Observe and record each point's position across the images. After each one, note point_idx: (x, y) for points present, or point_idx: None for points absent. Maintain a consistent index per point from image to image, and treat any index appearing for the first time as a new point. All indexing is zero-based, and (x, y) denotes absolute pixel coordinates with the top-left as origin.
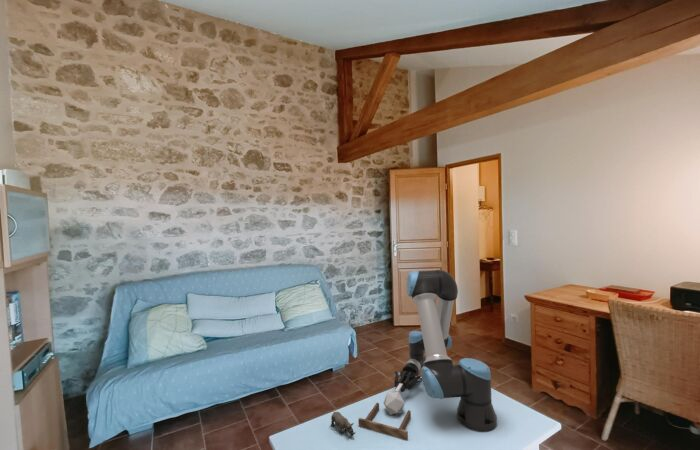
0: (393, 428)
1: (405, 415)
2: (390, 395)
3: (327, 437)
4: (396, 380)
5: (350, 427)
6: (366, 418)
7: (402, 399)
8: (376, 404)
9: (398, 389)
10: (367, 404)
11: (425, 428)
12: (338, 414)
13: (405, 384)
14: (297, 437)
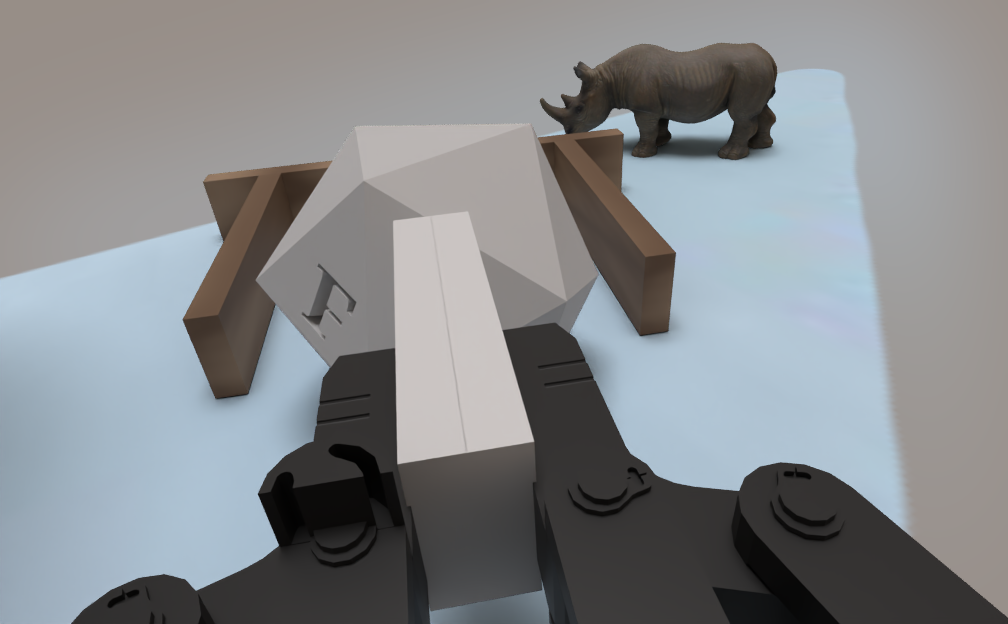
0: (322, 163)
1: (243, 255)
2: (455, 126)
3: None
4: (829, 574)
5: (582, 84)
6: (571, 145)
7: (288, 245)
8: (648, 237)
9: (409, 246)
10: (845, 338)
11: (41, 357)
12: (710, 45)
13: (289, 539)
14: (789, 88)
